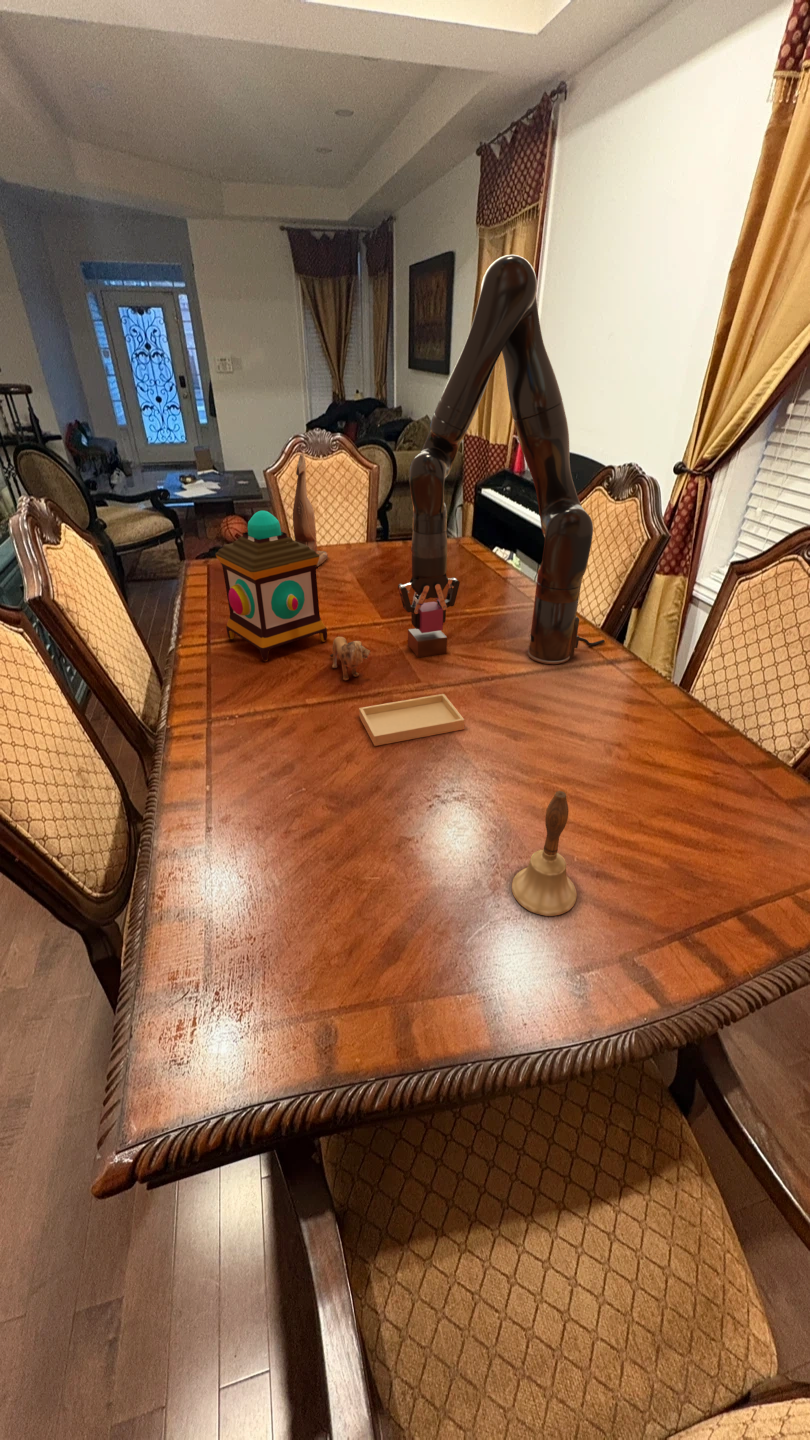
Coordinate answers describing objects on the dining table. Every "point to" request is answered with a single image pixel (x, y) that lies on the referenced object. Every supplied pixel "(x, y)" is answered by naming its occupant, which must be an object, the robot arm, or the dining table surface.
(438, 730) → the tray
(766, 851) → the dining table surface
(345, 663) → the lion figurine
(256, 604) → the decorative lantern
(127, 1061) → the dining table surface
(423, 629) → the mulberry block
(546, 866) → the hand bell
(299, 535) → the bird sculpture
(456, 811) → the dining table surface
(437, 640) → the walnut block
